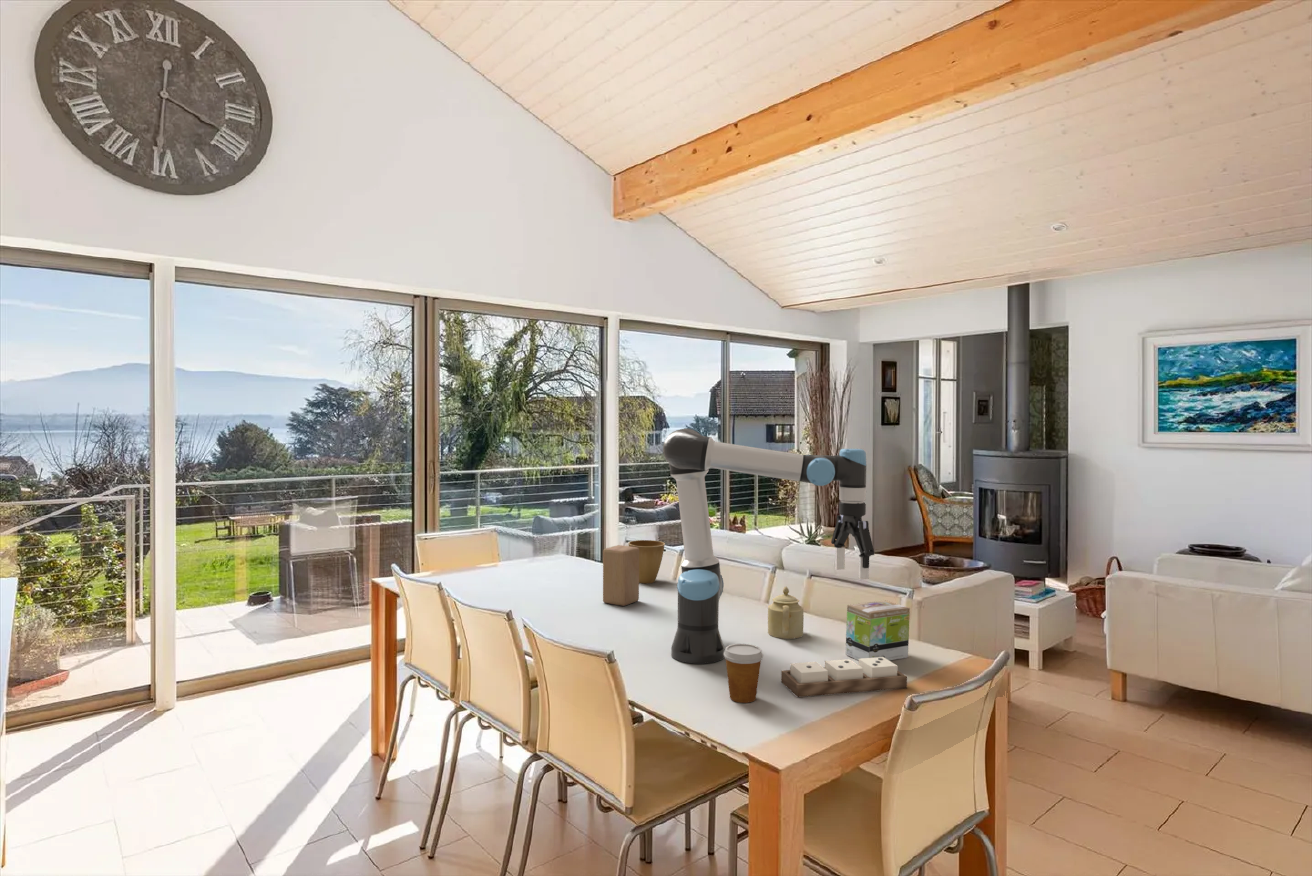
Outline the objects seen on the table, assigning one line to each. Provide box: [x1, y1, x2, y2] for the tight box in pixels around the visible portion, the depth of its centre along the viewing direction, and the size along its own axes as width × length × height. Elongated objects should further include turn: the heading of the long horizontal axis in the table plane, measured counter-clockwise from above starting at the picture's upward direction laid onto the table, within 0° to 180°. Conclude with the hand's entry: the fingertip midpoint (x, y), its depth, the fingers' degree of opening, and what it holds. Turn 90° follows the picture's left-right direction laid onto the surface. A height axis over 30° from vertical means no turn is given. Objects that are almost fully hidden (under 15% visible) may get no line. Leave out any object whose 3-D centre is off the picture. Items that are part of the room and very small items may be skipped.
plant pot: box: [628, 539, 666, 584], centre depth 306 cm, size 15×15×16 cm
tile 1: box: [789, 661, 828, 683], centre depth 187 cm, size 7×7×3 cm
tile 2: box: [824, 658, 863, 681], centre depth 189 cm, size 7×7×3 cm
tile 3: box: [858, 657, 898, 678], centre depth 191 cm, size 7×7×3 cm
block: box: [602, 544, 640, 607], centre depth 272 cm, size 10×10×20 cm
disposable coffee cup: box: [724, 643, 764, 704], centre depth 180 cm, size 10×10×12 cm
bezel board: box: [780, 666, 908, 698], centre depth 189 cm, size 30×10×3 cm, turn 103°
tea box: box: [845, 599, 911, 661], centre depth 212 cm, size 15×10×15 cm, turn 117°
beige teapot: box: [767, 586, 805, 640], centre depth 232 cm, size 15×11×15 cm
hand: (851, 574), depth 218 cm, fingers open, 13 cm apart
